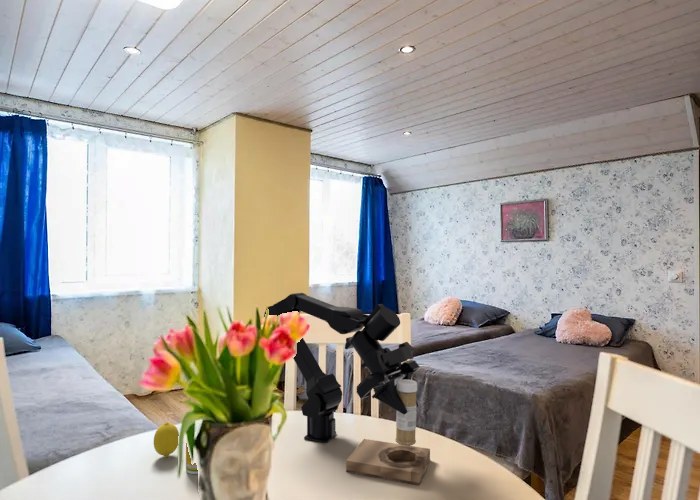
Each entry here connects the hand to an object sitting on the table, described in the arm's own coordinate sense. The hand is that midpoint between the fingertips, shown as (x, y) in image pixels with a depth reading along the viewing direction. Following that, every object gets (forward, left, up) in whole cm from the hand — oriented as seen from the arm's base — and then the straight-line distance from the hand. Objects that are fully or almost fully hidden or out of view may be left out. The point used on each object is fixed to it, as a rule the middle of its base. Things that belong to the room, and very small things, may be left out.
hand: (411, 410), depth 96 cm
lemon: (-55, -15, -13) cm, 58 cm away
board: (-5, -1, -13) cm, 14 cm away
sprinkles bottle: (-1, 0, -7) cm, 8 cm away
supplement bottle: (-44, -17, -13) cm, 49 cm away
